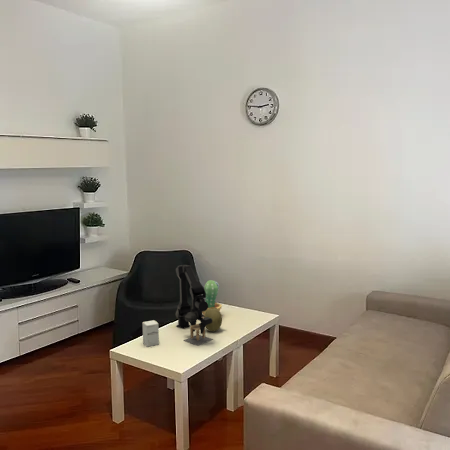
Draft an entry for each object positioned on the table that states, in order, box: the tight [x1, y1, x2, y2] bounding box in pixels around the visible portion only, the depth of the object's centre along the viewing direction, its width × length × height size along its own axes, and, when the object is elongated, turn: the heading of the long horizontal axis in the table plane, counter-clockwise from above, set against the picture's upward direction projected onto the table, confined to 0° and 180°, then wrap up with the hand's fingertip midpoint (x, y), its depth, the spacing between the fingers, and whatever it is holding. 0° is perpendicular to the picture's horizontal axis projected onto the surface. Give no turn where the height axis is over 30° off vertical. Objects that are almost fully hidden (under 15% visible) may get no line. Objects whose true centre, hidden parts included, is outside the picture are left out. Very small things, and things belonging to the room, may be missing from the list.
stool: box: [189, 323, 206, 340], centre depth 275 cm, size 6×6×7 cm
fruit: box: [203, 307, 223, 332], centre depth 290 cm, size 11×11×15 cm
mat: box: [183, 334, 214, 347], centre depth 275 cm, size 12×12×1 cm
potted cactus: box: [202, 279, 223, 315], centre depth 315 cm, size 15×15×25 cm
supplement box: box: [142, 319, 160, 348], centre depth 270 cm, size 7×7×13 cm
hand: (197, 332), depth 275 cm, fingers closed on stool, 6 cm apart
